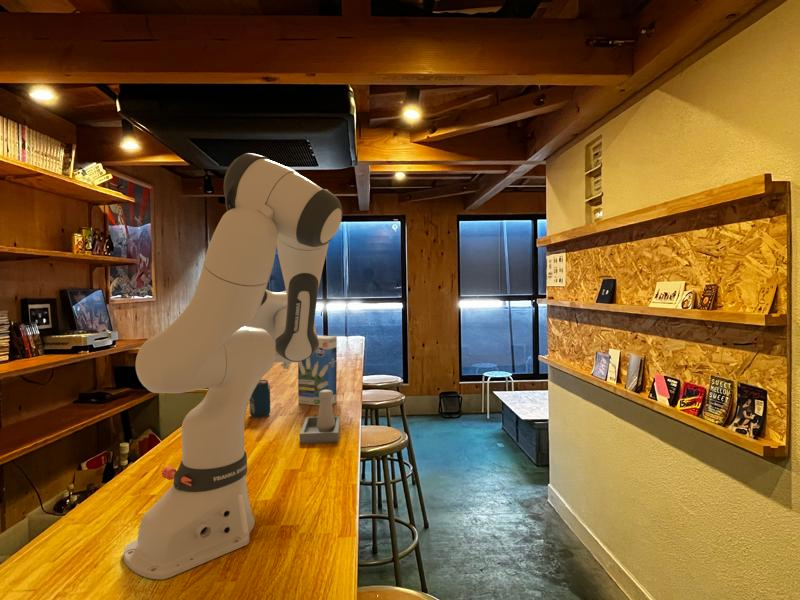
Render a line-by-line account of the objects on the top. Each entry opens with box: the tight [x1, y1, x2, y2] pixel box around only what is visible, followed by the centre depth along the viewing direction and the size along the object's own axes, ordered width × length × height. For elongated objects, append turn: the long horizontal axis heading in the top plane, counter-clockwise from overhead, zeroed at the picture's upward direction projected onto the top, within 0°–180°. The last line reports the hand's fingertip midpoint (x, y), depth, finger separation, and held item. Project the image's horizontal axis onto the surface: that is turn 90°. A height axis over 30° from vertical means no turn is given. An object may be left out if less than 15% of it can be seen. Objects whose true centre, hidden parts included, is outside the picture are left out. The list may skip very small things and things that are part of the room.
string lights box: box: [297, 334, 338, 407], centre depth 176 cm, size 13×8×26 cm, turn 72°
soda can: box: [249, 379, 271, 419], centre depth 161 cm, size 7×7×12 cm
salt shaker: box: [317, 390, 336, 432], centre depth 142 cm, size 6×6×13 cm
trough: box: [299, 415, 341, 445], centre depth 142 cm, size 16×11×3 cm
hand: (269, 367), depth 130 cm, fingers open, 8 cm apart
